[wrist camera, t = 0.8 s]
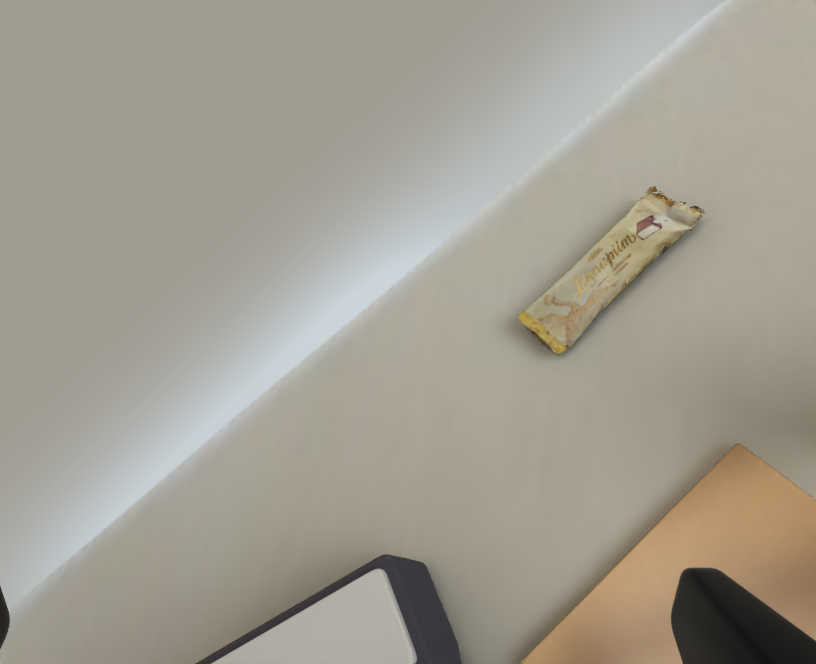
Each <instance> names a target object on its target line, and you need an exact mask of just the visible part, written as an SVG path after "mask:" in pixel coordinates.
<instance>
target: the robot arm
mask: <svg viewBox="0 0 816 664" xmlns="http://www.w3.org/2000/svg"><path fill="white" fill-rule="evenodd" d="M9 622H10V618H9V611H8V608H7V605H6V602H5V599H4V596H3V593H2V590H1V587H0V649H1V646H2V644H3V642H4V640H5V638H6V635H7V632H8V628H9ZM671 626H672V631H673V634H674V637H675V640H676V644H677V647H678V650H679V653H680V656H681V659H682V662H683V664H816V641H815V640H814V639H813V638H811V637H810V636H809V635H807V634H806V633H804V632H803V631H802V630H800V629H799V628H798V627H796V626H795V625H794V624H792V623H791V622H790V621H788V620H787V619H785V618H784V617H783V616H781V615H780V614H779V613H777V612H776V611H775V610H773V609H772V608H771V607H769V606H768V605H767V604H765V603H764V602H762V601H761V600H760V599H758V598H757V597H756V596H754V595H753V594H752V593H750V592H749V591H748V590H746V589H745V588H743V587H742V586H741V585H739V584H738V583H737V582H735V581H734V580H733V579H731V578H730V577H729V576H727V575H726V574H724V573H723V572H722V571H720V570H718V569H716V568H711V567H690V568H686V569H684V570H683V572H682V573H681V576H680V579H679V583H678V587H677V591H676V595H675V599H674V603H673V606H672V611H671Z"/></svg>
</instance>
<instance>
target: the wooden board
mask: <svg viewBox="0 0 816 664" xmlns="http://www.w3.org/2000/svg"><path fill="white" fill-rule="evenodd" d="M690 567H711V568H716V569H718V570H720V571H722V572H723V573H724V574H726V575H727V576H729V577H730V578H731V579H733V580H734V581H735V582H737V583H738V584H739V585H741V586H742V587H743V588H745V589H746V590H748V591H749V592H750V593H752V594H753V595H754V596H756V597H757V598H758V599H760V600H761V601H762V602H764V603H765V604H767V605H768V606H769V607H771V608H772V609H773V610H775V611H776V612H777V613H779V614H780V615H781V616H783V617H784V618H785V619H787V620H788V621H790V622H791V623H792V624H794V625H795V626H796V627H798V628H799V629H800V630H802V631H803V632H804V633H806V634H807V635H809V636H810V637H811V638H813V639H814V640H815V641H816V500H815V499H814V498H813V497H811V496H810V495H809V494H807V493H806V492H805V491H803V490H802V489H800V488H799V487H798V486H796V485H795V484H794V483H792V482H791V481H790V480H788V479H787V478H786V477H784V476H783V475H781V474H780V473H779V472H777V471H776V470H775V469H773V468H772V467H771V466H769V465H768V464H767V463H765V462H764V461H763V460H761V459H760V458H758V457H757V456H756V455H754V454H753V453H752V452H750V451H749V450H748V449H746V448H745V447H744V446H742V445H741V444H740V443H736V444H735V445H734V446H733V447H732V448H731V449H730V450H729V451H728V452H727V453H726V455H725V456H724V457H723V458H722V459H721V460H720V461H719V462H718V463H717V464H716V465H715V466H714V467H713V468H712V469H711V470H710V471H709V472H708V473H707V474H706V475H705V476H704V477H703V478H702V479H701V480H700V481H699V482H698V483H697V484H696V485H695V486H694V487H693V488H692V489H691V490H690V491H689V492H688V493H687V494H686V495H685V496H684V497H683V498H682V499H681V500H680V501H679V502H678V503H677V504H676V505H675V506H674V507H673V508H672V509H671V510H670V511H669V512H668V513H667V514H666V515H665V516H664V517H663V518H662V519H661V520H660V521H659V522H658V523H657V524H656V525H655V526H654V527H653V528H652V529H651V530H650V531H649V532H648V533H647V534H646V535H645V537H644V538H643V539H642V540H641V541H640V542H639V543H638V544H637V545H636V546H635V547H634V548H633V549H632V550H631V551H630V552H629V553H628V554H627V555H626V556H625V557H624V558H623V559H622V560H621V561H620V562H619V563H618V564H617V565H616V566H615V567H614V568H613V569H612V570H611V571H610V572H609V573H608V574H607V575H606V576H605V577H604V578H603V579H602V580H601V581H600V582H599V583H598V584H597V585H596V586H595V587H594V588H593V589H592V590H591V591H590V592H589V593H588V594H587V595H586V596H585V597H584V598H583V599H582V600H581V601H580V602H579V603H578V604H577V605H576V606H575V607H574V608H573V609H572V610H571V611H570V612H569V613H568V614H567V615H566V616H565V618H564V619H563V620H562V621H561V622H560V623H559V624H558V625H557V626H556V627H555V628H554V629H553V630H552V631H551V632H550V633H549V634H548V635H547V636H546V637H545V638H544V639H543V640H542V641H541V642H540V643H539V644H538V645H537V646H536V647H535V648H534V649H533V650H532V651H531V652H530V653H529V654H528V655H527V656H526V657H525V658H524V659H523V660H522V661H521V664H683V662H682V659H681V656H680V653H679V650H678V647H677V644H676V640H675V637H674V634H673V631H672V626H671V611H672V606H673V603H674V599H675V595H676V591H677V587H678V583H679V579H680V576H681V573H682V572H683V570H684V569H686V568H690Z"/></svg>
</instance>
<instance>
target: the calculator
mask: <svg viewBox="0 0 816 664" xmlns="http://www.w3.org/2000/svg"><path fill="white" fill-rule="evenodd" d="M196 664H461V660H460V655H459V650H458V645H457V641H456V639H455V636H454V634H453V631H452V629H451V626H450V624H449V621H448V619H447V617H446V614H445V612H444V609H443V607H442V604H441V602H440V600H439V597H438V595H437V592H436V590H435V587H434V585H433V582H432V580H431V578H430V575H429V573H428V570H427V568H426V566H425V565H424V564H423V563H421V562H419V561H415V560H410V559H406V558H401V557H397V556H392V555H382V556H380V557H378V558H376V559H374V560H372V561H371V562H369V563H367V564H366V565H364V566H362V567H360V568H359V569H357V570H355V571H354V572H352V573H350V574H348V575H347V576H345V577H343V578H342V579H340V580H338V581H336V582H335V583H333V584H331V585H330V586H328V587H326V588H324V589H323V590H321V591H319V592H318V593H316V594H314V595H312V596H311V597H309V598H307V599H306V600H304V601H302V602H300V603H299V604H297V605H295V606H294V607H292V608H290V609H288V610H287V611H285V612H283V613H282V614H280V615H278V616H276V617H275V618H273V619H271V620H270V621H268V622H266V623H264V624H263V625H261V626H259V627H258V628H256V629H254V630H252V631H251V632H249V633H247V634H246V635H244V636H242V637H240V638H239V639H237V640H235V641H234V642H232V643H230V644H228V645H227V646H225V647H223V648H222V649H220V650H218V651H216V652H215V653H213V654H211V655H210V656H208V657H206V658H204V659H203V660H201V661H199V662H198V663H196Z"/></svg>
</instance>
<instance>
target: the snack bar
mask: <svg viewBox="0 0 816 664" xmlns="http://www.w3.org/2000/svg"><path fill="white" fill-rule="evenodd" d="M651 192H658V191H657V189H656V188H655V186H652V187H650V188H649V189H648V190H647V192H646V193H648V194H647V195H646V196H644V197H642V198H641V200H639V201H638V202H637V203H636V204H635V205H634V206H633V207H632V208H631V210H630V211H629V212H628V213H627V215H626V216H625V217H624V218H623V219H621V220H620V221H619V222H618V223H617V224H616V225H615V226H614V227H613V228H612V229H611V230H610V231H609V232H608V233H607V234H606V235H605V236H604V237H603V238H602V239H601V240H600V241H599V242H597V243H596V244H595V245H594V246H593V247H592V248H591V249H590V250H589V251H588V252H587V253H586V254H585V255H584V256H583V257H582V258H581V259H580V260H579V261H578V262H577V263H576V264H575V265H574V266H573V267H572V268H571V269H570V270H569V271H568V272H567V273H566V274H565V275H564V276H562V277H561V278H560V279H559V280H558V281H557V282H556V283H555V284H554V285H553V286H552V287H550V288H549V289H548V290H547V291H546V292H545V293H544V294H543V295H541V296H540V297H539V298H538V299H537V300H536V301H535V302H534V303H532V304H531V305H530V306H529V307H528V308H527V309H526V310H525V311H523V312H522V313H521V314H520V315H519V320H520V321H521V322H522V323H523V324H524V325H525V326H526V328H527V329H529V330H531V331H532V333H533V334H535V335H536V336H537V337H538V338H539V339H540V340H541V341H542V342H543V344H546V345H547V346H548V347H549V348H550V349H552V351H553V352H554V353H555V354H556V355H558V354H561V353H563V352H564V351H565V350H566V349H568V348H569V347H571V346H572V344H573V343H574V342H575V341H576V340H577V339H578V338H579V337H580V336H581V334H582V333H583V332H584V331H585V330H586V329H587V328H588V327H589V325H590V324H591V323H592V322H593V320H594V319H595V317H596V316H597V315H598V314H599V313H600V312H601V311H603V310H604V309H605V308H606V307H607V306H608V305H609V304H610V303H611V302H612V301H613V300H614V299H615V298H616V297H617V296H618V295H619V294H620V293H621V292H622V291H623V290H624V289H626V288H627V287H628V286H629V285H630V284H631V283H632V282H633V281H634V280H635V279H636V278H637V277H638V276H639V275H640V274H641V273H642V272H643V271H644V270H645V269H646V268H647V267H648V266H649V265H650V264H651V263H652V262H653V261H654V260H655V259H656V258H657V257H659V256H660V255H661V254H663V253H664V252H665V251H666V250H667V249H668V248H669V247H670V246H671V245H672V244H673V243H674V242H676V241H677V240H678V239H679V238H680V237H681V236H682V235H684V234H685V233H686V232H687V231H691V230H692V229H693V228H694V226H695V225H696V224H697V222H698V221H699V220H700V218H701V217H702V216H701V214H700V213H701V212H702V213H703V214H704V213H705V212H704V210H703V209H701V208H699V207H697V206H693V207H689V206H688V205H686V202H682V201H681V202H678V203H676V201H673V202H672V199H669V198H666V196H664V195H662V194H663V193H658V194H654V193H651ZM659 192H660V191H659ZM662 197H664V198H663V199H662ZM699 211H700V212H699ZM699 216H700V217H699ZM696 220H697V221H696ZM693 223H694V224H693ZM692 224H693V226H691V225H692Z"/></svg>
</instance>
